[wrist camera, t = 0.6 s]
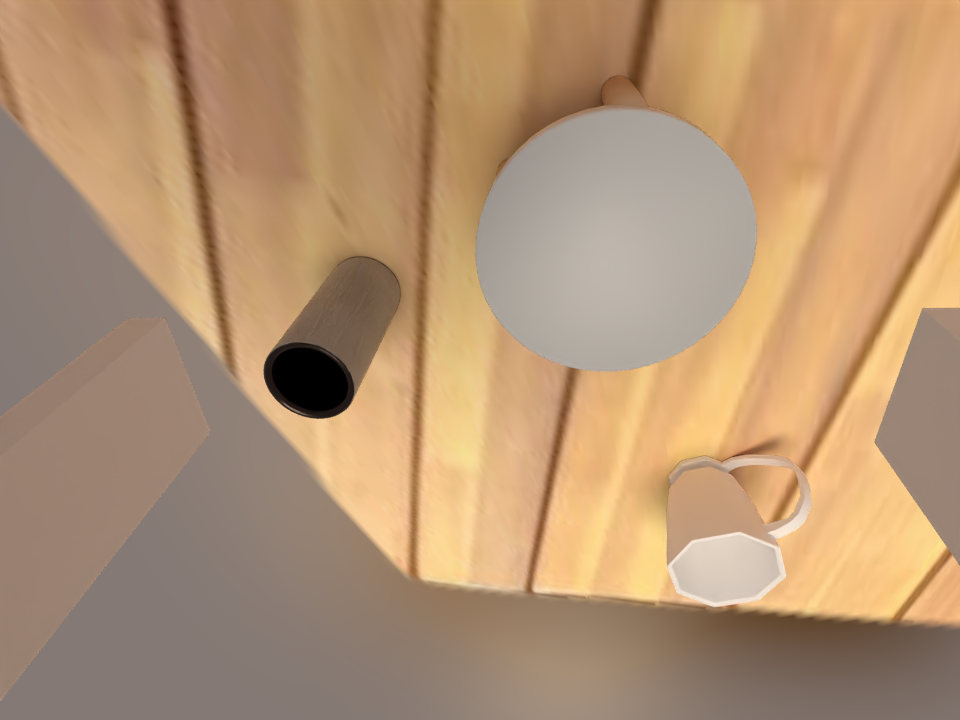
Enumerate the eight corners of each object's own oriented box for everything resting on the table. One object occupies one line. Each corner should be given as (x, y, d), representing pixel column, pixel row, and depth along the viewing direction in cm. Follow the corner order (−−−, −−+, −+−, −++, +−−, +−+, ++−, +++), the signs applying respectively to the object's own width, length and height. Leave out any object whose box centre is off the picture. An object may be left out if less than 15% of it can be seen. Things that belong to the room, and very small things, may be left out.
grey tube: (326, 254, 36) (254, 339, 28) (398, 257, 36) (349, 346, 27) (335, 319, 39) (271, 416, 30) (403, 323, 38) (359, 423, 30)
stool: (455, 164, 32) (420, 229, 24) (633, 22, 28) (666, 40, 20) (568, 310, 36) (572, 409, 28) (739, 206, 32) (804, 286, 24)
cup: (629, 473, 43) (642, 565, 36) (753, 401, 39) (796, 490, 32) (686, 526, 45) (709, 621, 38) (810, 463, 41) (861, 559, 34)
